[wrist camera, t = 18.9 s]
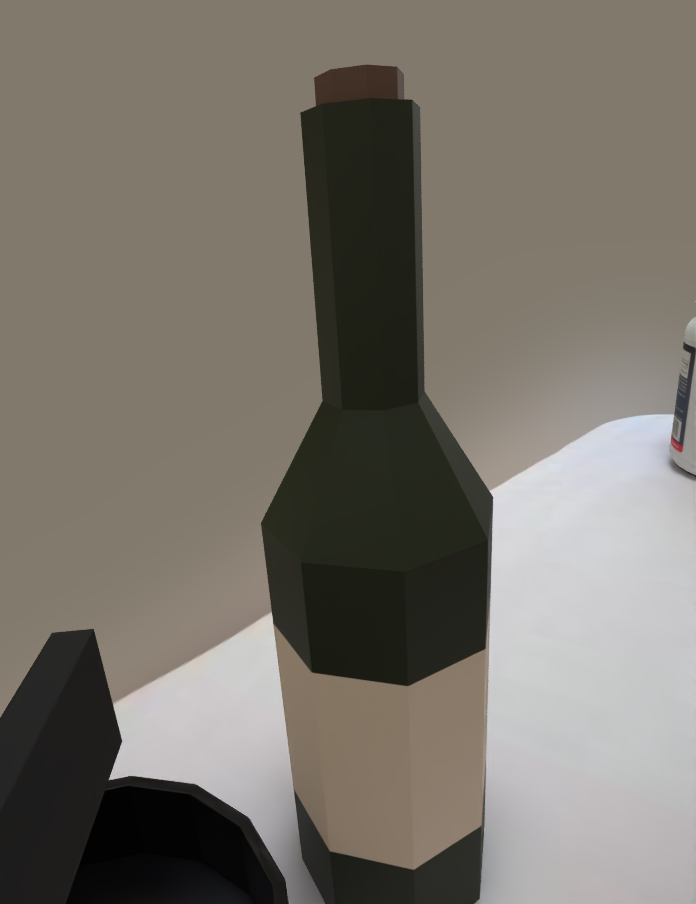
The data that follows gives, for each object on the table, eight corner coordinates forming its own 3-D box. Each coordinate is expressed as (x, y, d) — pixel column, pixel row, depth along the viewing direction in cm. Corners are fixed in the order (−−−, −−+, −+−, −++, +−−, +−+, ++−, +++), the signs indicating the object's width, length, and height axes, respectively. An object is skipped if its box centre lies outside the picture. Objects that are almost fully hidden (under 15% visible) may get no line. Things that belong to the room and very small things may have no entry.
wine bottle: (263, 864, 27) (141, 84, 16) (372, 740, 33) (335, 113, 22) (427, 996, 22) (404, 2, 11) (520, 822, 28) (562, 67, 17)
